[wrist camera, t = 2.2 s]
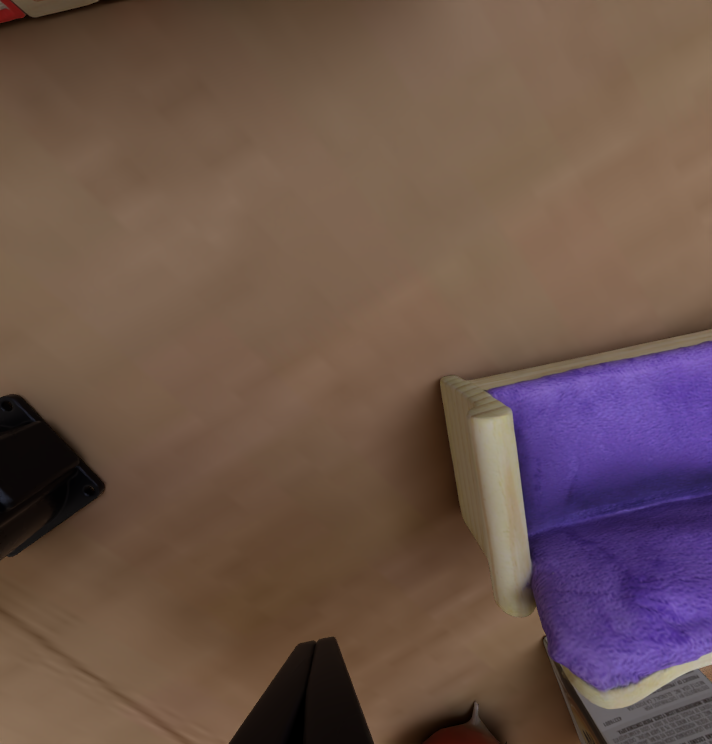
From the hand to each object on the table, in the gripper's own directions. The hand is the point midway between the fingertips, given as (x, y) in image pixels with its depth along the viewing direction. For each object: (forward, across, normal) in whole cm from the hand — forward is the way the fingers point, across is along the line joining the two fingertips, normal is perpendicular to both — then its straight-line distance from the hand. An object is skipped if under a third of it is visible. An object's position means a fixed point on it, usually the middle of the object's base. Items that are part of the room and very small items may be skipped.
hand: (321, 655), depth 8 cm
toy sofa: (+12, +16, -2) cm, 20 cm away
